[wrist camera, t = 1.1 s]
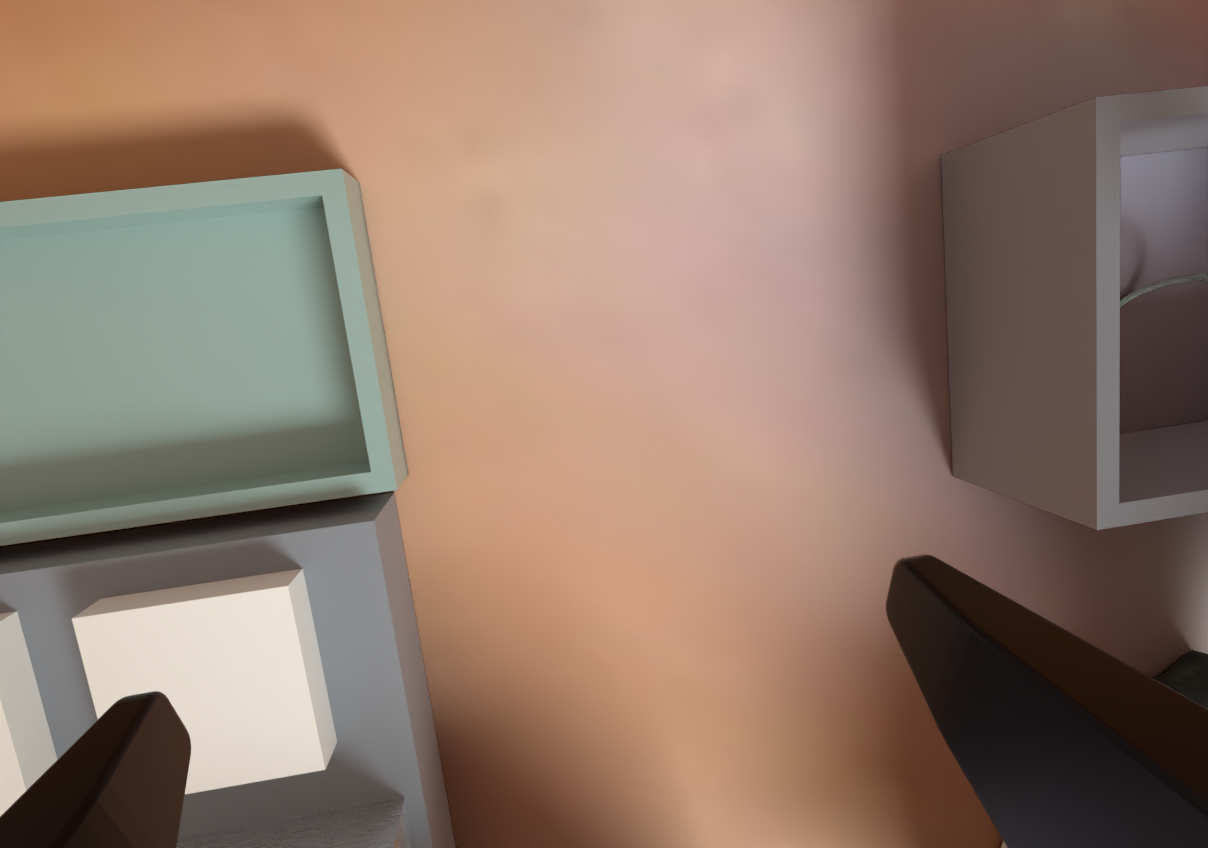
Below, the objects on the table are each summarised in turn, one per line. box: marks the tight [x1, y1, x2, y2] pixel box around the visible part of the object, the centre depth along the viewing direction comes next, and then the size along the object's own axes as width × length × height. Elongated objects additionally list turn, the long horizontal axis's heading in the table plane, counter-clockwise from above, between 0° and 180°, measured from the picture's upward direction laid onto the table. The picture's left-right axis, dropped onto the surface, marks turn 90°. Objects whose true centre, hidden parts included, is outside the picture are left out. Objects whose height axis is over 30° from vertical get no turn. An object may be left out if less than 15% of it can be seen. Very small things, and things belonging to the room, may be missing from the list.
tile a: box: [72, 569, 337, 794], centre depth 18 cm, size 5×5×1 cm
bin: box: [0, 168, 408, 546], centre depth 19 cm, size 8×17×2 cm, turn 97°
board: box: [0, 492, 456, 848], centre depth 21 cm, size 16×16×3 cm
